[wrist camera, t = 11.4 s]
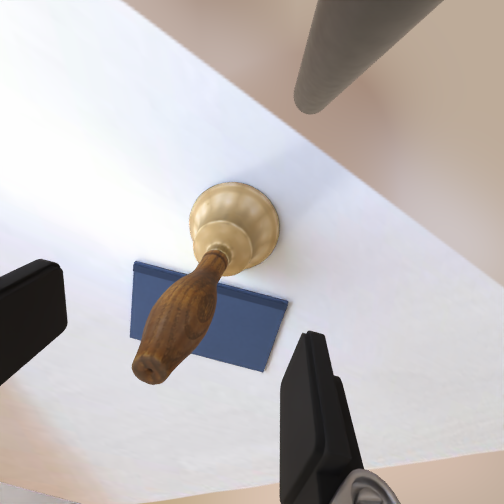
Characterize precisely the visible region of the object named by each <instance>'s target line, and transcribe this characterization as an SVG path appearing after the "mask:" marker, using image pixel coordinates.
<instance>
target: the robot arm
mask: <svg viewBox="0 0 504 504" xmlns="http://www.w3.org/2000/svg"><path fill="white" fill-rule="evenodd" d="M66 327H67V311H66V300H65V290H64V279H63V271H62V269H61V268H60V266H59V264H57V263H55V262H51V261H47V260H43V259H38V260H35V261H33V262H31V263H29V264H27V265H25V266H22V267H20V268H18V269H16V270H14V271H12V272H10V273H8V274H5V275H3V276H1V277H0V386H1V385H2V384H3V383H4V382H5V381H6V380H8V379H9V378H10V377H11V376H12V375H13V374H15V373H16V372H17V371H18V370H19V369H20V368H22V367H23V366H24V365H25V364H26V363H27V362H29V361H30V360H31V359H32V358H33V357H34V356H36V355H37V354H38V353H39V352H40V351H41V350H43V349H44V348H45V347H46V346H47V345H48V344H50V343H51V342H52V341H53V340H54V339H55V338H56V337H58V336H59V335H60V334H61V333H62V332H63V331H64V330H65V329H66ZM280 502H281V504H401V503H400V502H399V500H398V499H397V497H396V495H395V493H394V492H393V491H392V490H391V488H390V487H389V486H388V485H387V483H385V481H383V480H382V479H381V478H380V477H379V476H378V475H376V474H374V473H372V472H370V471H369V470H365V469H364V467H363V463H362V459H361V455H360V451H359V447H358V443H357V439H356V436H355V432H354V428H353V424H352V420H351V416H350V412H349V408H348V404H347V400H346V396H345V392H344V388H343V384H342V381H341V379H340V378H339V377H338V376H334V375H333V370H332V366H331V362H330V357H329V353H328V348H327V344H326V339H325V336H324V335H323V334H320V333H317V332H313V331H308V332H307V334H305V333H302V335H301V337H300V339H299V341H298V344H297V346H296V349H295V351H294V353H293V356H292V358H291V360H290V363H289V365H288V367H287V370H286V372H285V375H284V377H283V379H282V382H281V388H280ZM0 504H80V503H77V502H73V501H69V500H66V499H62V498H58V497H55V496H51V495H47V494H44V493H40V492H36V491H33V490H29V489H25V488H21V487H18V486H14V485H10V484H7V483H3V482H0Z"/></svg>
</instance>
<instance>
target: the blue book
mask: <svg viewBox="0 0 504 504" xmlns="http://www.w3.org/2000/svg"><path fill="white" fill-rule="evenodd" d="M133 271H134V275H133V292H132V309H131V326H130V338H134V339H138V340H141V339H142V334H143V330H144V327H145V324H146V321H147V318H148V316H149V314H150V311H151V309H152V308H153V306H154V305H155V303H156V302H157V300H158V299H159V298H160V297H161V295H162V294H163V293H164V292H165V291H166V290H167V289H168V288H169V287H170V286H171V285H172V284H173V283H175V282H176V281H177V280H179V279H180V278H182V277H184V276H186V275H187V274H183V273H179V272H175V271H172V270H168V269H164V268H160V267H156V266H153V265H149V264H145V263H141V262H137V261H135V262H134V265H133ZM287 306H288V301H286V300H282V299H278V298H274V297H270V296H267V295H263V294H259V293H255V292H251V291H248V290H244V289H240V288H236V287H232V286H229V285H225V284H221V283H218V284H217V304H216V309H215V313H214V316H213V319H212V322H211V324H210V326H209V329H208V331H207V333H206V335H205V336H204V338H203V339H202V341H201V342H200V343H199V345H198V346H197V347H196V348H195V350H194V351H193V352H192V353H191V354H195V355H199V356H203V357H206V358H210V359H214V360H218V361H222V362H225V363H229V364H233V365H237V366H241V367H245V368H248V369H252V370H256V371H260V372H263V371H264V369H265V366H266V363H267V360H268V358H269V355H270V352H271V349H272V346H273V344H274V341H275V338H276V335H277V333H278V330H279V327H280V324H281V322H282V319H283V316H284V313H285V311H286V308H287Z"/></svg>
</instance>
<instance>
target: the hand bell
mask: <svg viewBox="0 0 504 504" xmlns="http://www.w3.org/2000/svg"><path fill="white" fill-rule="evenodd" d="M189 228H190V234H191V237H192V240H193V251H194V255H195V257H196V259H197V261H198V263H199V264H198V266H197V267H196V269H195V270H194V271H193V272H192V273H190V274H188V275H186V276H184V277H182V278H180V279H179V280H177V281H176V282H175V283H173V284H172V285H171V286H170V287H169V288H168V289H167V290H166V291H165V292H164V293H163V294H162V295H161V297H160V298H159V299H158V300H157V302H156V303H155V305H154V306H153V308H152V309H151V311H150V314H149V316H148V318H147V321H146V324H145V327H144V330H143V334H142V339H141V343H140V346H139V349H138V352H137V354H136V356H135V358H134V361H133V363H132V370H133V373H134V374H135V376H136V377H137V378H138V379H140V380H141V381H143V382H146V383H148V384H151V385H154V384H160V383H162V382H164V381H165V380H166V379H167V378H168V376H169V375H170V374H171V372H172V371H173V370H174V369H175V368H176V367H177V366H178V365H179V364H180V363H181V362H182V361H183V360H184V359H185V358H186V357H187V356H189V355H190V354H191V353H192V352H193V351H194V350H195V348H196V347H197V346H198V345H199V343H200V342H201V341H202V339H203V338H204V336H205V335H206V333H207V331H208V329H209V326H210V324H211V322H212V319H213V316H214V313H215V309H216V304H217V284H218V281H219V280H220V278H221V276H232V275H235V274H238V273H240V272H241V271H243V270H244V269H248V268H251V267H253V266H256V265H258V264H260V263H261V262H263V261H264V260H265V259H266V258H267V257H268V256H269V255H270V254H271V253H272V251H273V250H274V248H275V246H276V244H277V241H278V237H279V220H278V216H277V213H276V211H275V209H274V207H273V205H272V204H271V202H270V201H269V199H268V198H267V197H266V196H265V195H264V194H262V193H261V192H260V191H259V190H257V189H255V188H254V187H251V186H249V185H246V184H242V183H238V182H227V183H221V184H218V185H215V186H213V187H211V188H209V189H207V190H206V191H204V192H203V193H202V194H201V195H200V196H199V197H198V199H197V200H196V202H195V203H194V205H193V207H192V210H191V213H190V219H189Z"/></svg>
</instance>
